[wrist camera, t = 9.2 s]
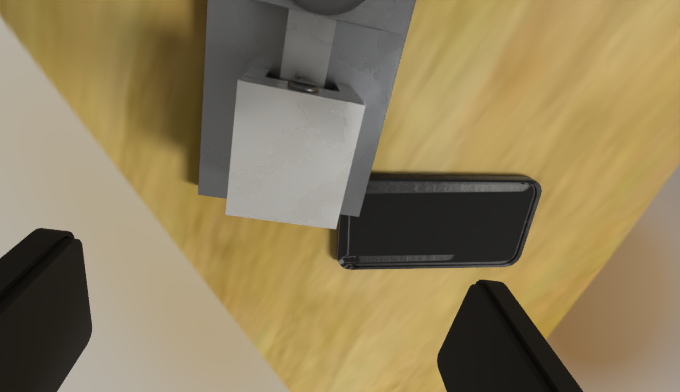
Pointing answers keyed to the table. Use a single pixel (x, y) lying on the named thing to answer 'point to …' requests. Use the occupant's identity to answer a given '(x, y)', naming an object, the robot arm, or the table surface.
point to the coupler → (300, 69)
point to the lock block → (291, 149)
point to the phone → (438, 222)
